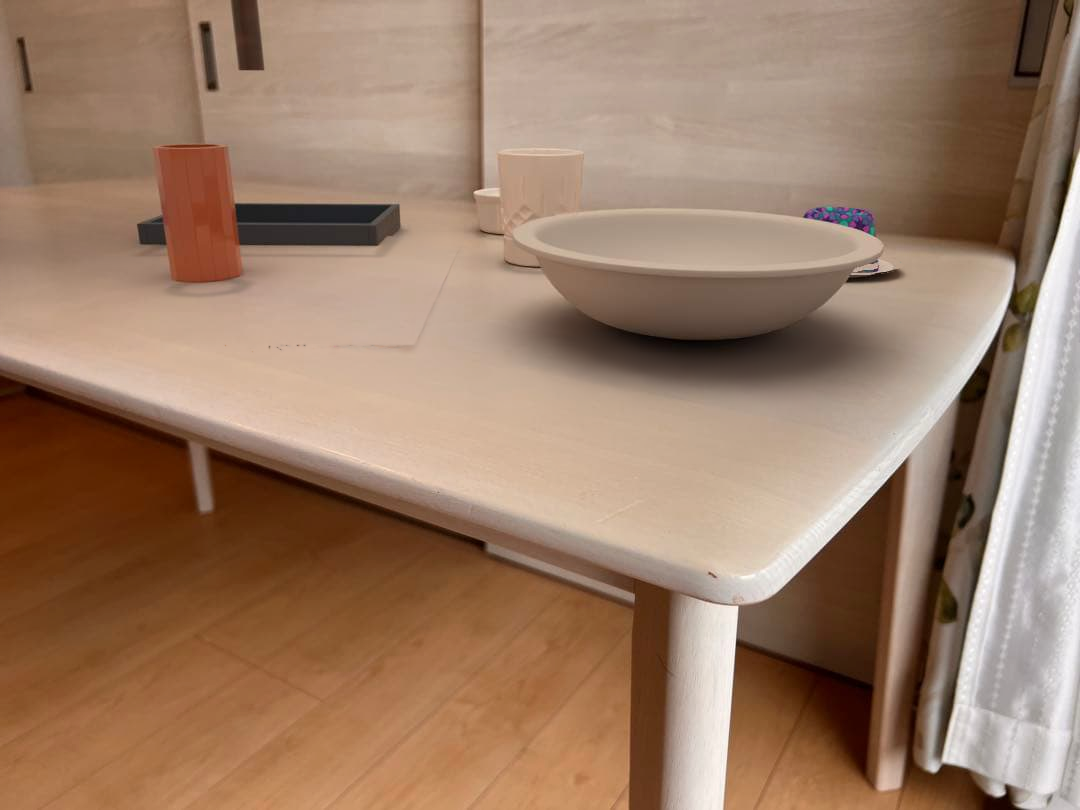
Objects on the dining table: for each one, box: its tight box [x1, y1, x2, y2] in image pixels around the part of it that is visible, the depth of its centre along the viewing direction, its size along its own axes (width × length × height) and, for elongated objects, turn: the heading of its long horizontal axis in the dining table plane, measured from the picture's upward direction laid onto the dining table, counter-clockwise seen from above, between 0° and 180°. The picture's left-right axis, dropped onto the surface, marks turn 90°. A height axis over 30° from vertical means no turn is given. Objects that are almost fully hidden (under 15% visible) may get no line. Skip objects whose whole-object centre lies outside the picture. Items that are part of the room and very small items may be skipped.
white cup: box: [497, 147, 585, 268], centre depth 80 cm, size 8×8×10 cm
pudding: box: [802, 206, 893, 278], centre depth 78 cm, size 12×12×5 cm
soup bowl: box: [512, 207, 885, 341], centre depth 58 cm, size 24×24×7 cm
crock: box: [151, 142, 244, 284], centre depth 70 cm, size 6×6×11 cm
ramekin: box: [473, 187, 505, 235], centre depth 98 cm, size 9×9×4 cm
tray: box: [136, 202, 402, 247], centre depth 92 cm, size 24×16×3 cm, turn 90°
